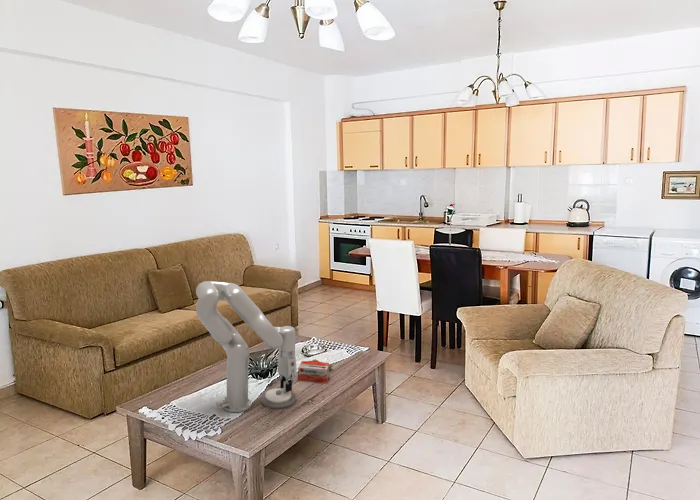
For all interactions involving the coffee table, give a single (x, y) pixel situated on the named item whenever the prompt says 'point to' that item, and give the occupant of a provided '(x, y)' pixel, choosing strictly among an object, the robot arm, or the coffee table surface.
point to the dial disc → (278, 395)
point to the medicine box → (313, 372)
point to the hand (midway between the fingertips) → (286, 389)
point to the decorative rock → (318, 361)
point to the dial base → (278, 405)
